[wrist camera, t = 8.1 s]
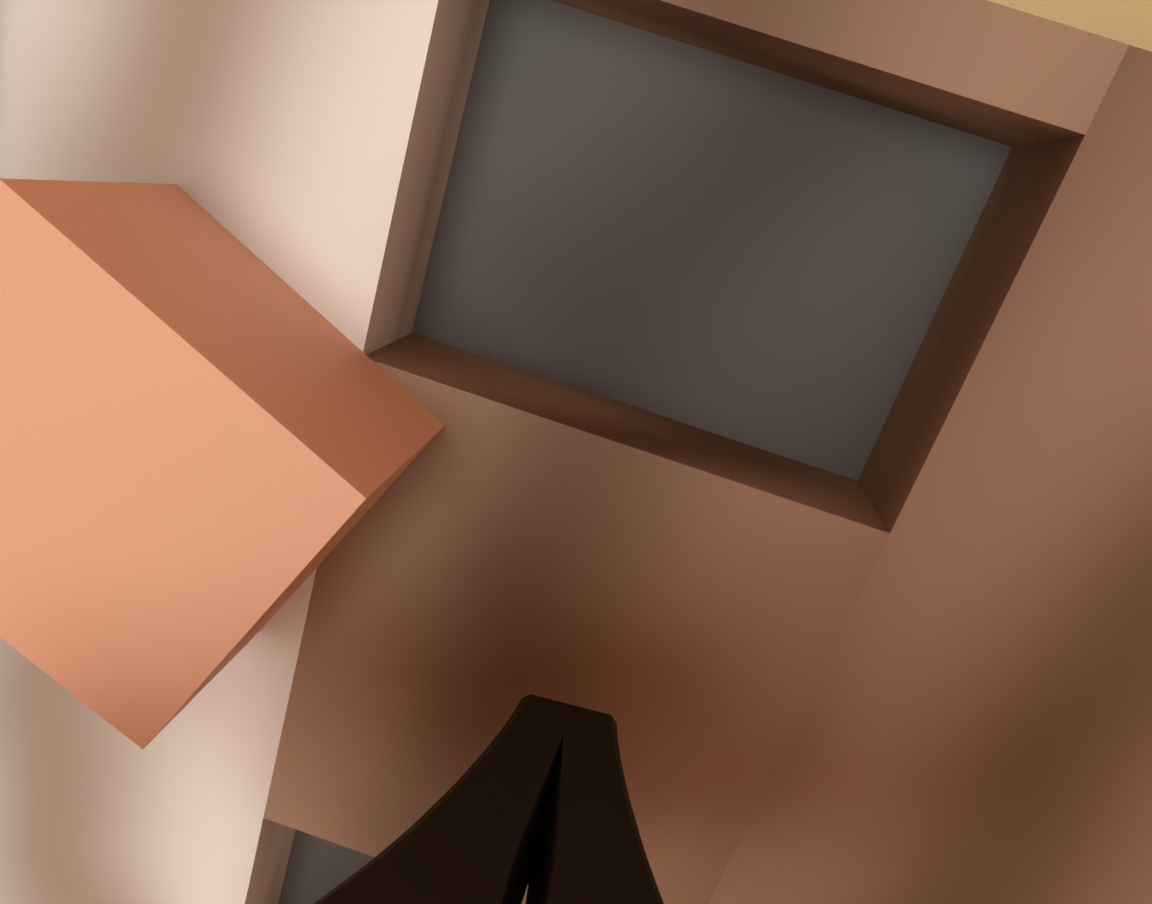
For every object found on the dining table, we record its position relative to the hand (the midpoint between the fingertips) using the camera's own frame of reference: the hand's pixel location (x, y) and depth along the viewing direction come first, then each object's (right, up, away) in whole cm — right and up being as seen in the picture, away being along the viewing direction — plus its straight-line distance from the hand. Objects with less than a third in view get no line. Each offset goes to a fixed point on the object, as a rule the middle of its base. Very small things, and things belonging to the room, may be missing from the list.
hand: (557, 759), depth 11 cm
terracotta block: (-5, +5, +1) cm, 7 cm away
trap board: (+2, +1, +4) cm, 4 cm away
